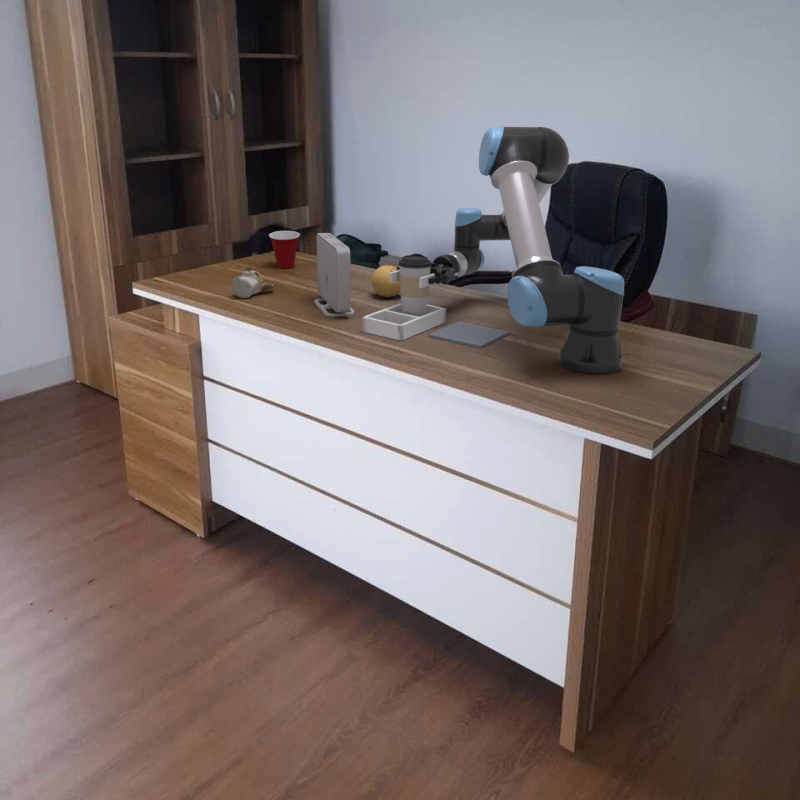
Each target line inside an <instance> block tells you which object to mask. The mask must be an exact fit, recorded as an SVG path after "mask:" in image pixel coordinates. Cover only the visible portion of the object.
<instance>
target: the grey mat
mask: <svg viewBox="0 0 800 800" xmlns="http://www.w3.org/2000/svg"><path fill="white" fill-rule="evenodd" d="M510 334H511V332H510V331H509V330H503V329H498V328H494V327H490V326H489V327H488V326H484V325H479V324H474V323H470V322H465V321H460V320H458V321H456V322H454V323H452V324H449V325H447V326H444V327H442V328H440V329H437V330H434V331H432V332H431V333H428V334H427V337H429V338H433V339H438V340H442V341H446V342H449V343H450V342H451V343H455V344H460V345H464V346H468V347H473V348H478V349H481V348H483V347H486V346H488V345H490V344H492V343H494V342H496V341H499V340H501V339H502V338H504V337H506V336H508V335H510Z"/></svg>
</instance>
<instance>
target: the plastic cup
mask: <svg viewBox="0 0 800 800" xmlns="http://www.w3.org/2000/svg"><path fill="white" fill-rule="evenodd" d="M300 235H301V233H300V232H297V231H293V230H277V231H273V232H271V233H269V234H268V236H269V239H270V241H271V245H272V248H273V253H274V259H275V262H276V266H277V268H278V269H282V270H290V269H293V268H294V267H295V261H296V255H297V247H298V241H299V237H300Z"/></svg>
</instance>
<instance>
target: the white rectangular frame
mask: <svg viewBox="0 0 800 800" xmlns="http://www.w3.org/2000/svg"><path fill="white" fill-rule="evenodd" d="M446 320H447V308H446V307H441V306H437V305H431V304H427V307H426V311H424V312H419V313H411V312H405V311H403V310H402V308H401V302H400V303H397V304H395V305H391V306H390V307H387V308H384V309H381V310H378V311H375V312H372V313H370V314H367V315H364V316H361V332H362V333H365V334H366V333H367V334H369V335H370V334H371V335H375V336H379V337H384V338H388V339H392V340H397V341H404V340H406V339H408V338H411V337H413V336H416V335H418V334H421V333H422V332H426V331H427V330H430V329H433V328H435V327H438V326H440V325H442V324H444V323H445V324H446Z"/></svg>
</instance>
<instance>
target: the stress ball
mask: <svg viewBox="0 0 800 800" xmlns="http://www.w3.org/2000/svg"><path fill="white" fill-rule="evenodd" d="M394 271H397V267H395V266H393V265H391V264H384V265H381V266H379V267H377V268H376V269H375V271H374V272H373V273H372V276H371V287H372V289H373V291H374V292H375V294H377V295H378V296H380V297H381V298H392V297H398V295H400V281H396V282H393V283H390V282H389V281H390V273H391V272H394Z"/></svg>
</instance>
